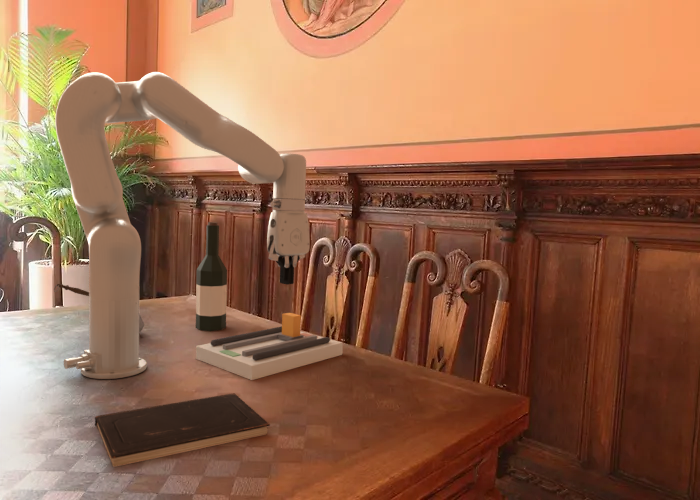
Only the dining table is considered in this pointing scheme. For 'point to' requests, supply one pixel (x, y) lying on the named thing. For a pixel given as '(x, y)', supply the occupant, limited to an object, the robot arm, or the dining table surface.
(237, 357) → the slider track board
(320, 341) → the dressed cords
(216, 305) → the wine bottle
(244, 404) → the hardcover book
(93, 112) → the robot arm
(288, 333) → the handle
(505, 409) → the dining table surface
